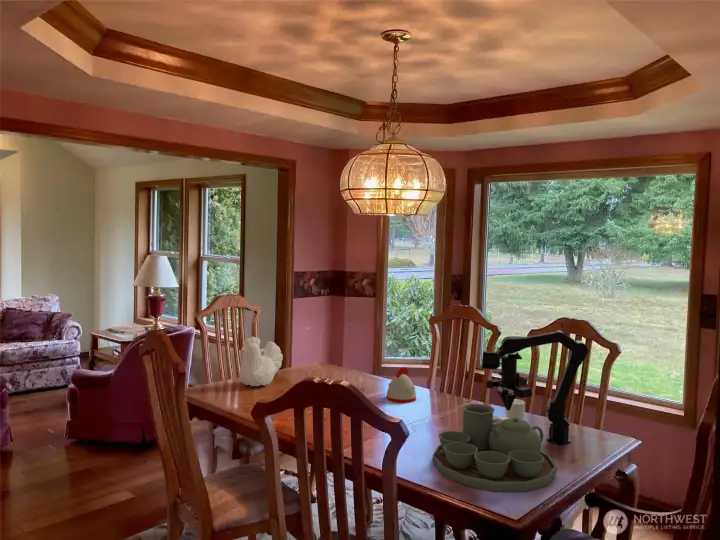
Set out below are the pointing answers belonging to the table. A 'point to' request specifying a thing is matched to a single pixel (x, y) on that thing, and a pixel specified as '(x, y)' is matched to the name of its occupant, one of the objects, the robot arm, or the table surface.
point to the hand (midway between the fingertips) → (508, 410)
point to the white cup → (516, 410)
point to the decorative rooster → (259, 362)
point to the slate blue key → (495, 418)
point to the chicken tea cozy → (401, 388)
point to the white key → (501, 419)
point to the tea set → (494, 453)
